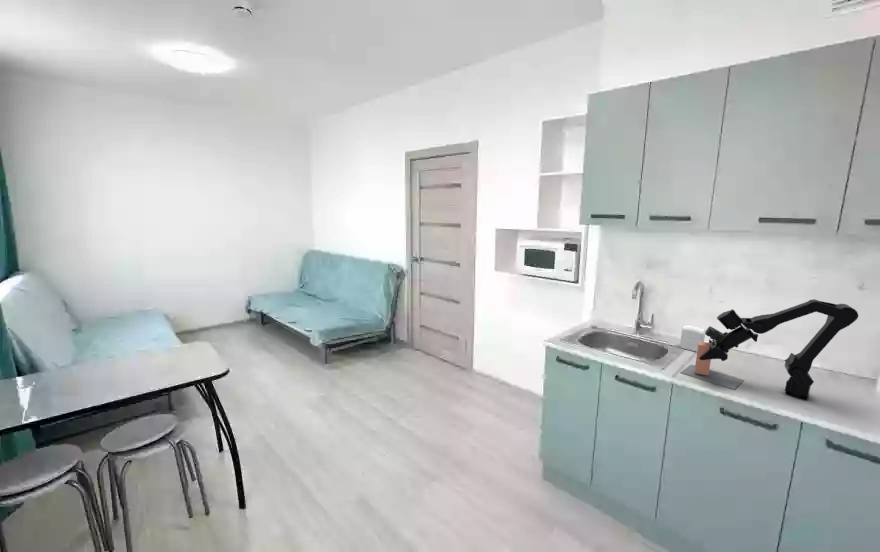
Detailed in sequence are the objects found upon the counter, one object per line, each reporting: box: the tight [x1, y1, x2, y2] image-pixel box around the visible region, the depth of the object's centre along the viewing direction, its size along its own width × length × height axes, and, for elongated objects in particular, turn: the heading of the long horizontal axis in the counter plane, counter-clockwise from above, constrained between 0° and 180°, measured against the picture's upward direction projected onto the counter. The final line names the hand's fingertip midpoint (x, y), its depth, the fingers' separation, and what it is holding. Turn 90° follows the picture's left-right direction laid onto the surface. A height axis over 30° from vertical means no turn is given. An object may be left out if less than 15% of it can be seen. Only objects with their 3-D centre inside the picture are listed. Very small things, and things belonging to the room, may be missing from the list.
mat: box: [680, 364, 745, 391], centre depth 171 cm, size 20×13×1 cm, turn 40°
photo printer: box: [679, 325, 706, 353], centre depth 201 cm, size 10×4×12 cm, turn 39°
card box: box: [695, 341, 713, 376], centre depth 171 cm, size 5×4×13 cm
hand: (699, 357), depth 172 cm, fingers closed on card box, 4 cm apart
